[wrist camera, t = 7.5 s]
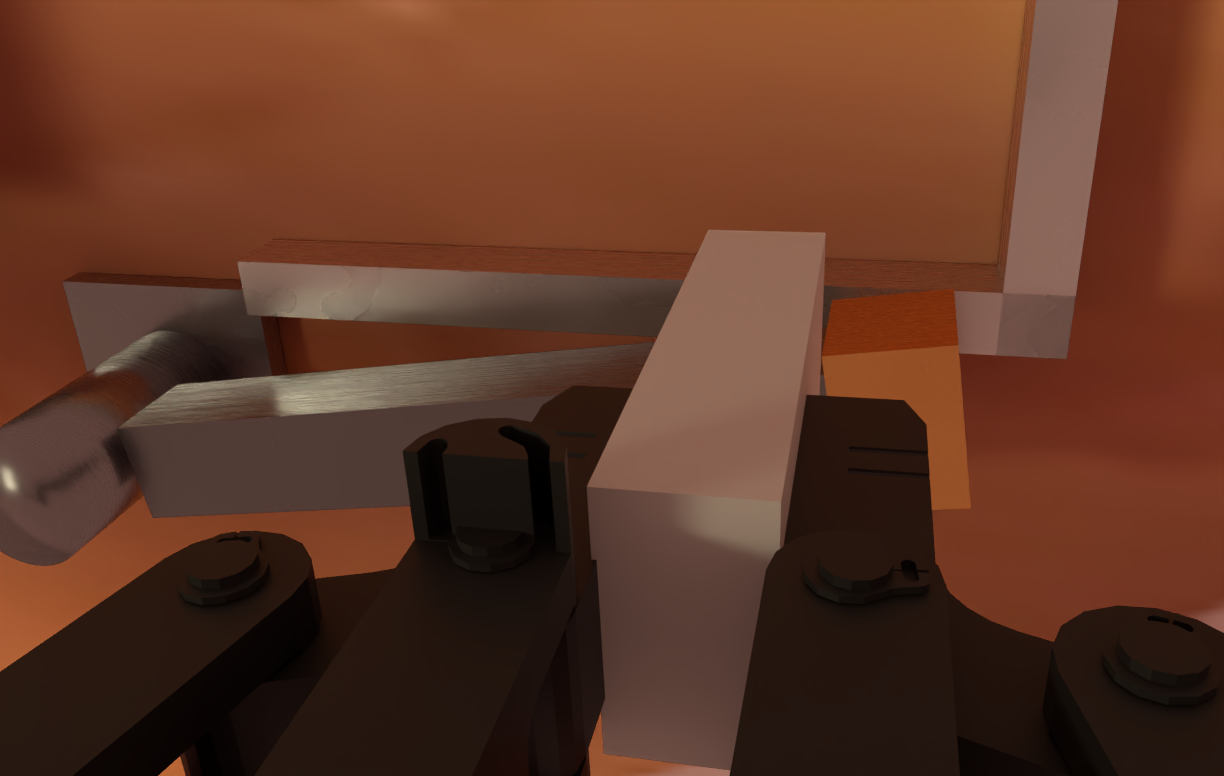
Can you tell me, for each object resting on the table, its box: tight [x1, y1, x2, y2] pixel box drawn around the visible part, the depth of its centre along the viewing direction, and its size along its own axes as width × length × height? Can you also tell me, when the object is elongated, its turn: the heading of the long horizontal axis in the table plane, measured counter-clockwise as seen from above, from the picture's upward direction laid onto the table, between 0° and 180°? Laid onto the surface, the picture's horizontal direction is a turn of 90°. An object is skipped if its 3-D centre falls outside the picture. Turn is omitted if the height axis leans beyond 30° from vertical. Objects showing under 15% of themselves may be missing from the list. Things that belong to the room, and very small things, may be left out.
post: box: [0, 273, 287, 566], centre depth 24 cm, size 5×5×6 cm
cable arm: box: [117, 288, 971, 518], centre depth 20 cm, size 16×3×2 cm, turn 101°
